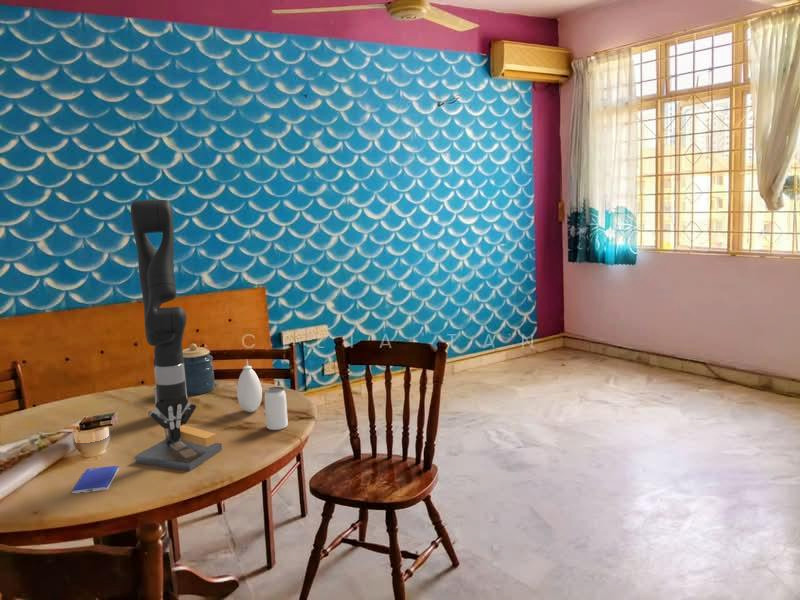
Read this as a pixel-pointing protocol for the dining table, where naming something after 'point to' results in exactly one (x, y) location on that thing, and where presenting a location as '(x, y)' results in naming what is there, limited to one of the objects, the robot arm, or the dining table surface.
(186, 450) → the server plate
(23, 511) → the dining table surface
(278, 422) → the can
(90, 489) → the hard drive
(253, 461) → the dining table surface
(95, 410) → the dining table surface
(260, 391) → the sauce bottle
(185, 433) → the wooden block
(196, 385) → the canister
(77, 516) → the dining table surface
